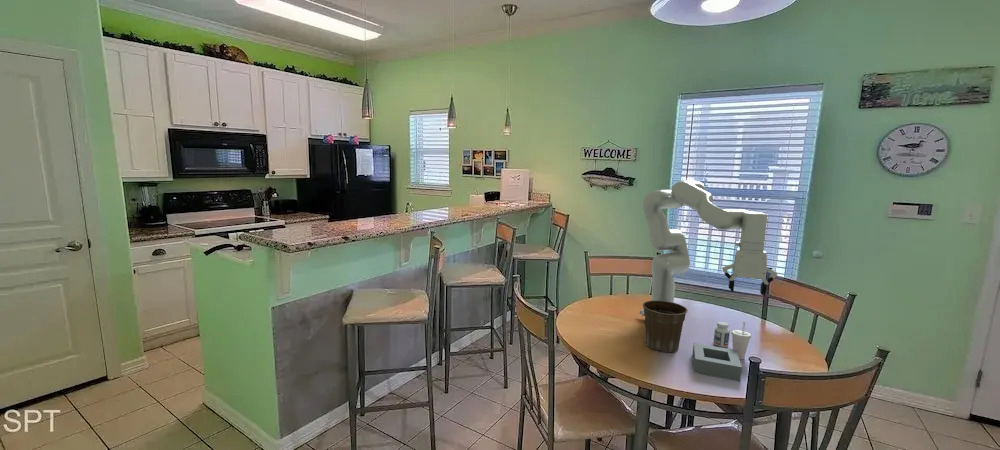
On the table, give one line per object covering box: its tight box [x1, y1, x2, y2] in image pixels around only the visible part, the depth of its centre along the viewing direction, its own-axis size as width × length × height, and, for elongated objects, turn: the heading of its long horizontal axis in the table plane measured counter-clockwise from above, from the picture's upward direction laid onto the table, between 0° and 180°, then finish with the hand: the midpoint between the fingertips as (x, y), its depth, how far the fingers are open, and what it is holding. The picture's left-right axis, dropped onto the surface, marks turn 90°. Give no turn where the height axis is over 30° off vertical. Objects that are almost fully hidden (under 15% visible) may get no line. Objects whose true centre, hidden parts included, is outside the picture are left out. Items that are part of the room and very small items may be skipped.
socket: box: [691, 342, 743, 382], centre depth 147 cm, size 14×14×5 cm
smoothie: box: [731, 321, 752, 360], centre depth 155 cm, size 6×6×14 cm
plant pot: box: [642, 300, 688, 353], centre depth 163 cm, size 16×16×16 cm
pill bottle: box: [713, 321, 730, 348], centre depth 166 cm, size 5×5×9 cm
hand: (746, 292), depth 152 cm, fingers open, 9 cm apart
